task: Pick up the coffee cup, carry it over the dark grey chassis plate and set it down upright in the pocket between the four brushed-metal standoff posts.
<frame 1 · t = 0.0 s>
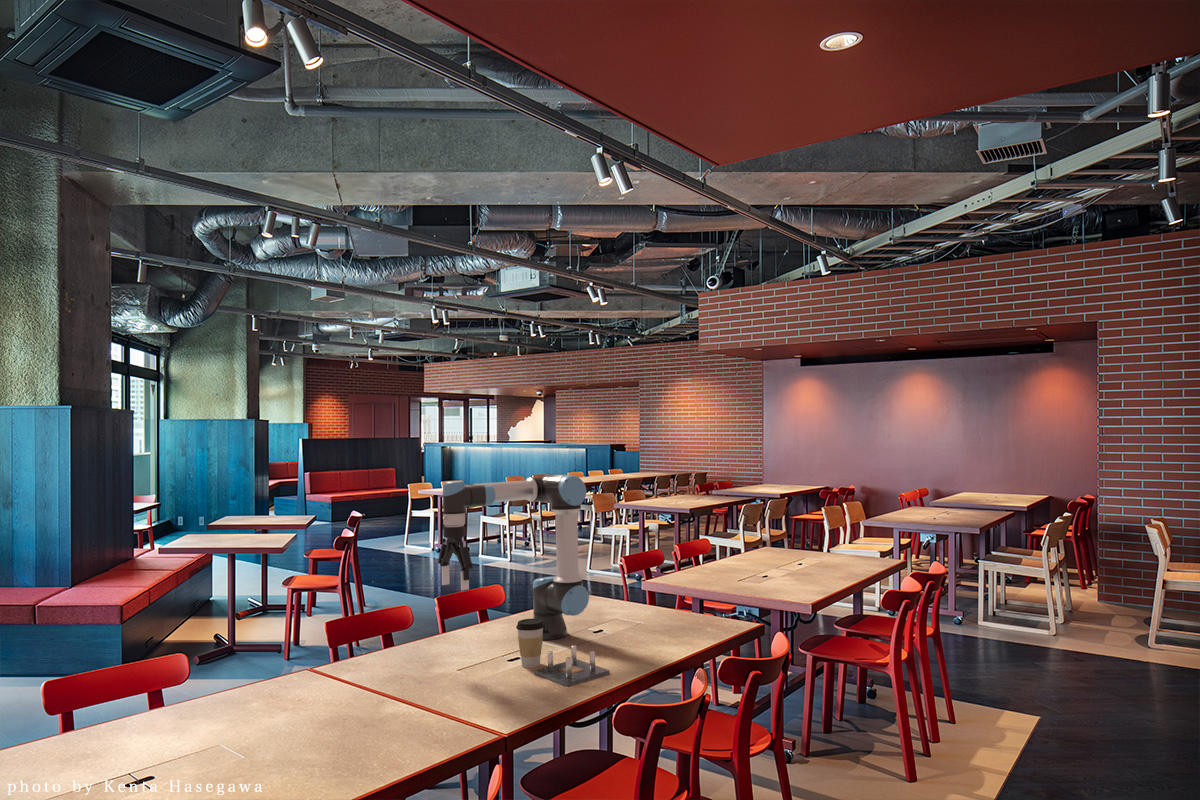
hand: (455, 587, 253), 28 cm above the table, fingers open, 13 cm apart
coffee cup: (531, 665, 254), on the table
chassis: (571, 673, 243), on the table
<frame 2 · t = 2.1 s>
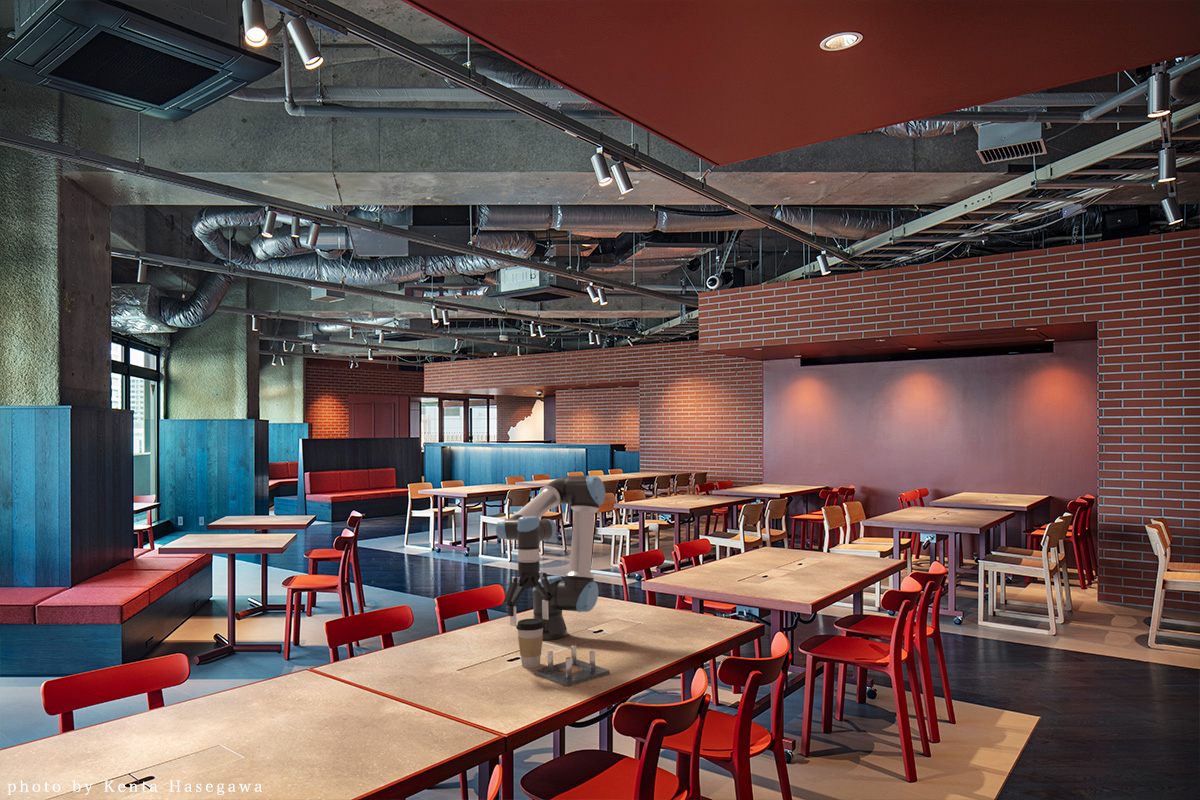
hand: (529, 622, 254), 15 cm above the table, fingers open, 13 cm apart
nothing on the table moved.
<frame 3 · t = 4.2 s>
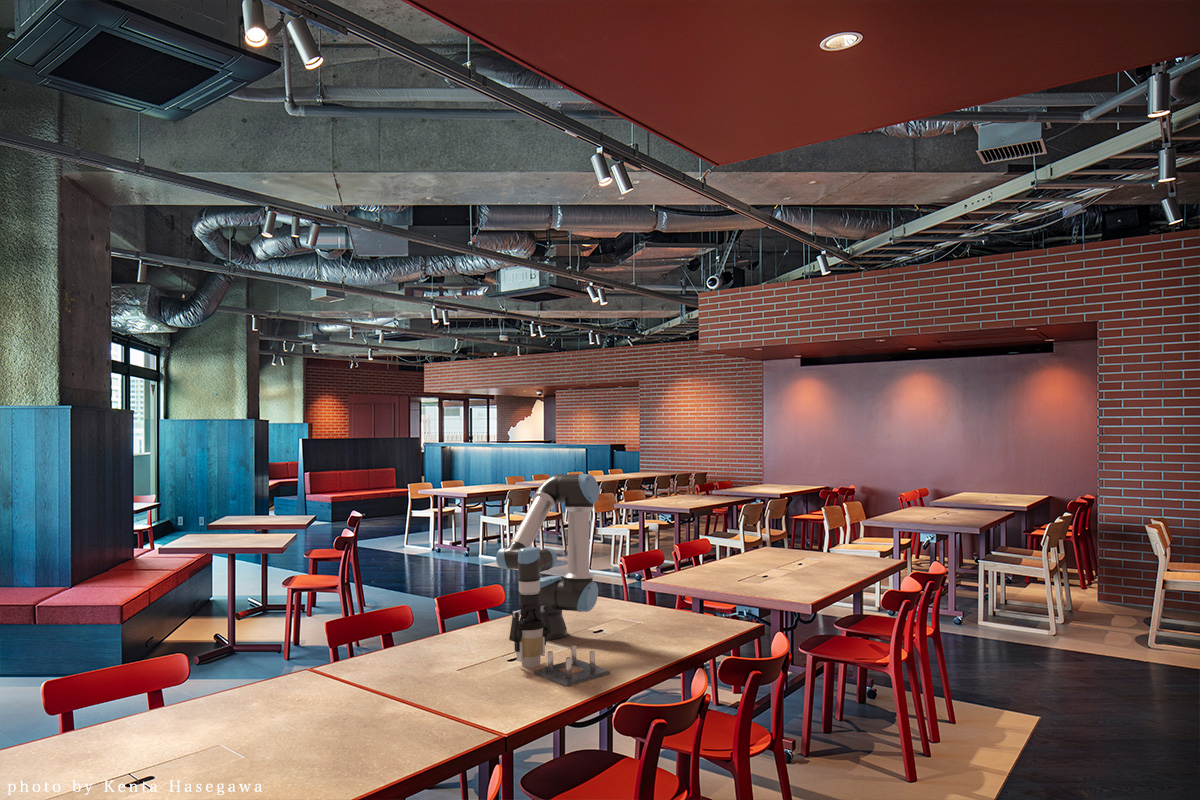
hand: (530, 657, 254), 2 cm above the table, fingers closed on coffee cup, 9 cm apart
coffee cup: (531, 665, 254), on the table, touching gripper
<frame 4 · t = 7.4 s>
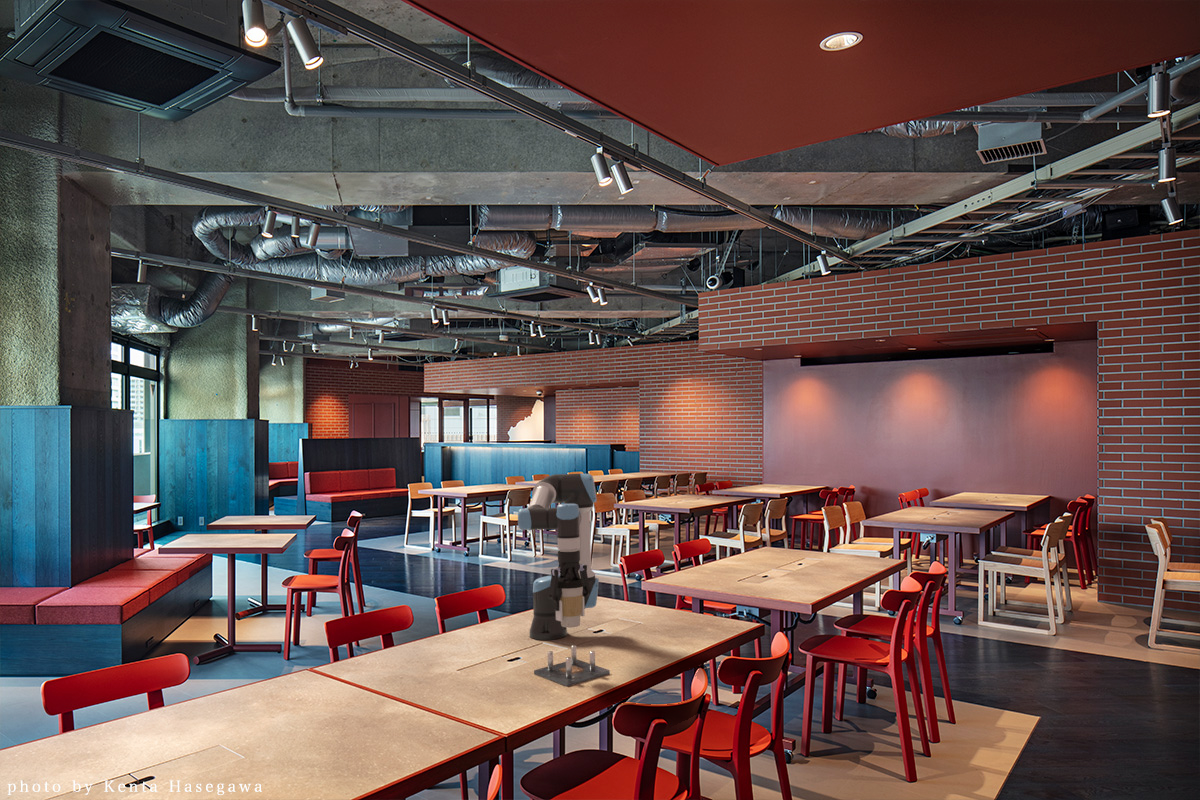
hand: (570, 617, 244), 18 cm above the table, fingers closed on coffee cup, 9 cm apart
coffee cup: (570, 625, 243), point 16 cm above the table, touching gripper
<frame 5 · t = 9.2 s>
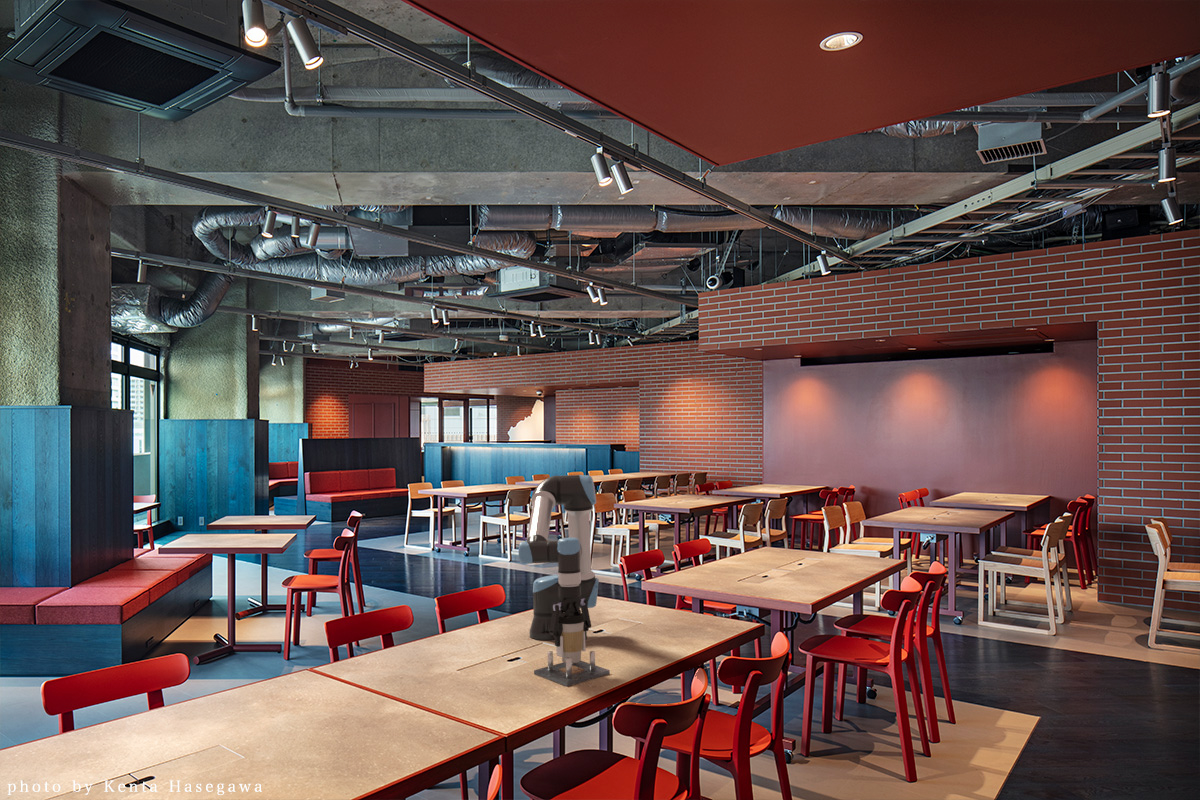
hand: (571, 653, 243), 7 cm above the table, fingers closed on coffee cup, 9 cm apart
coffee cup: (571, 661, 243), point 4 cm above the table, touching gripper
when the fingers open (5 cm above the table, at t = 10.6 s): coffee cup stays where it is, resting on chassis.
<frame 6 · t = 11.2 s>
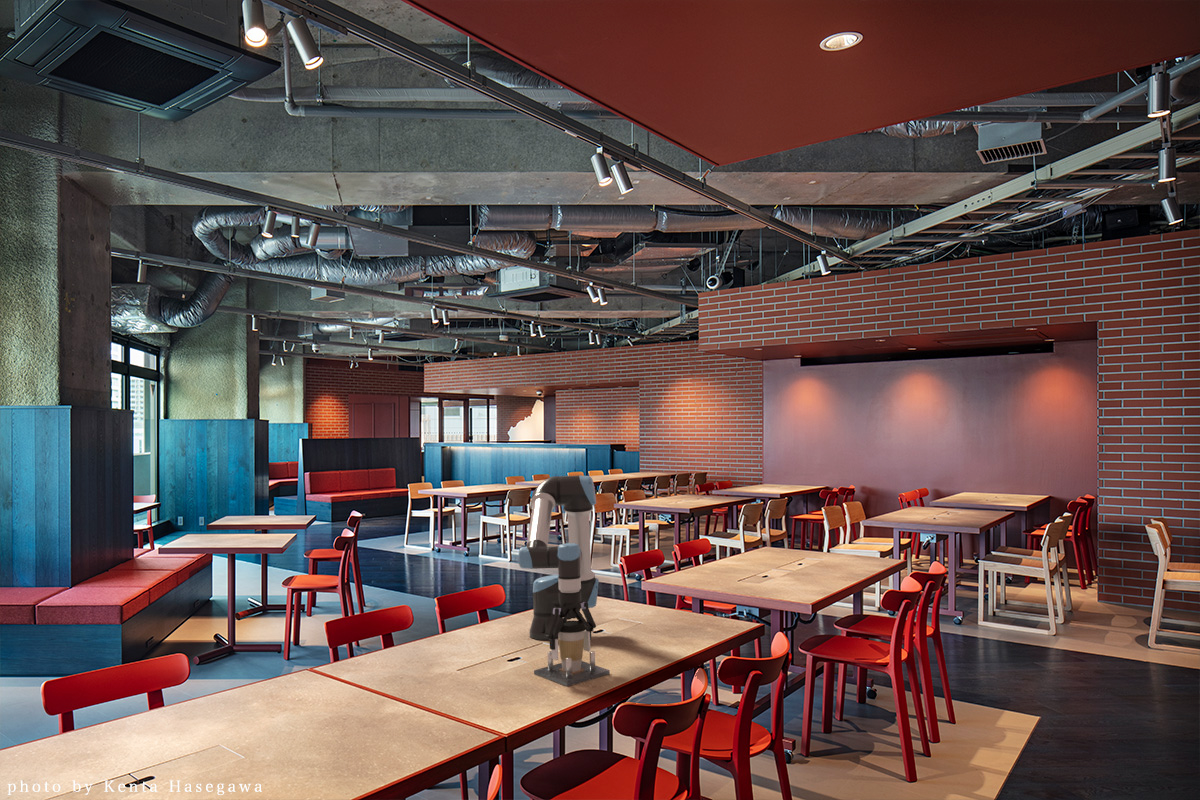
hand: (571, 654, 243), 6 cm above the table, fingers open, 13 cm apart
coffee cup: (571, 669, 243), point 1 cm above the table, touching chassis
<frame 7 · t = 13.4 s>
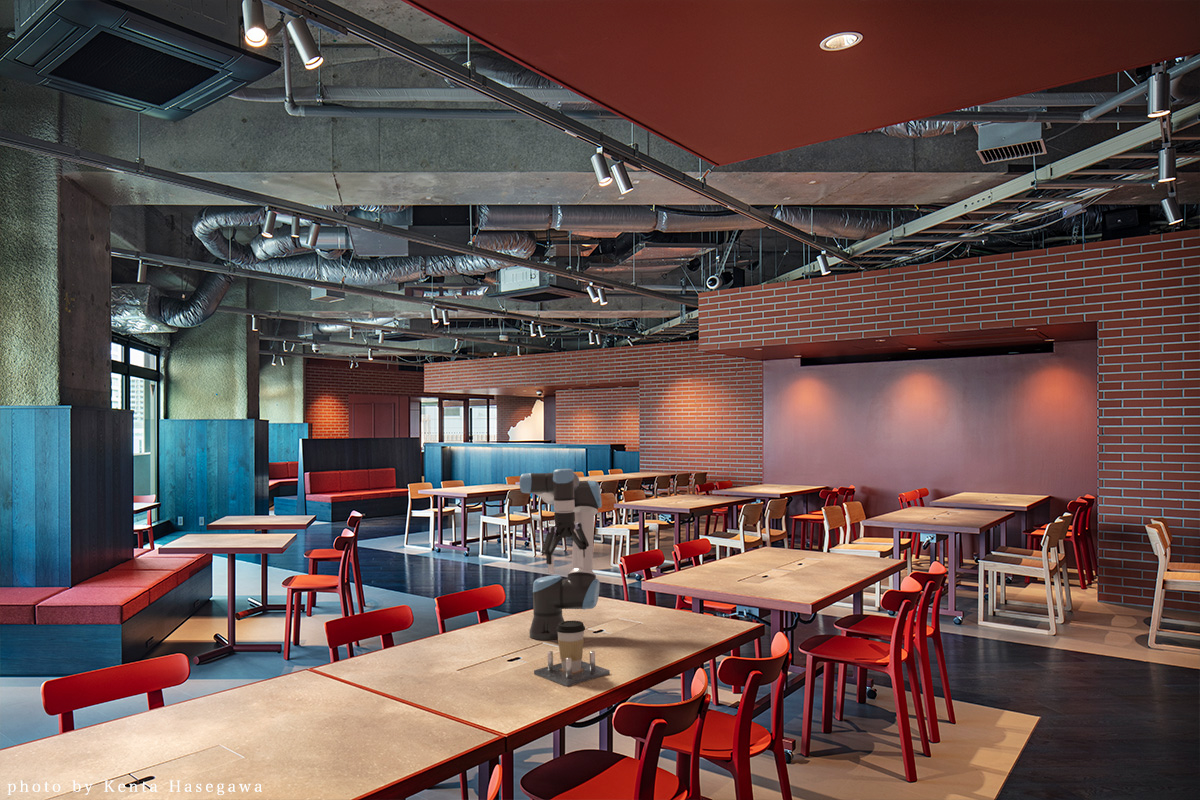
hand: (566, 570, 264), 31 cm above the table, fingers open, 13 cm apart
nothing on the table moved.
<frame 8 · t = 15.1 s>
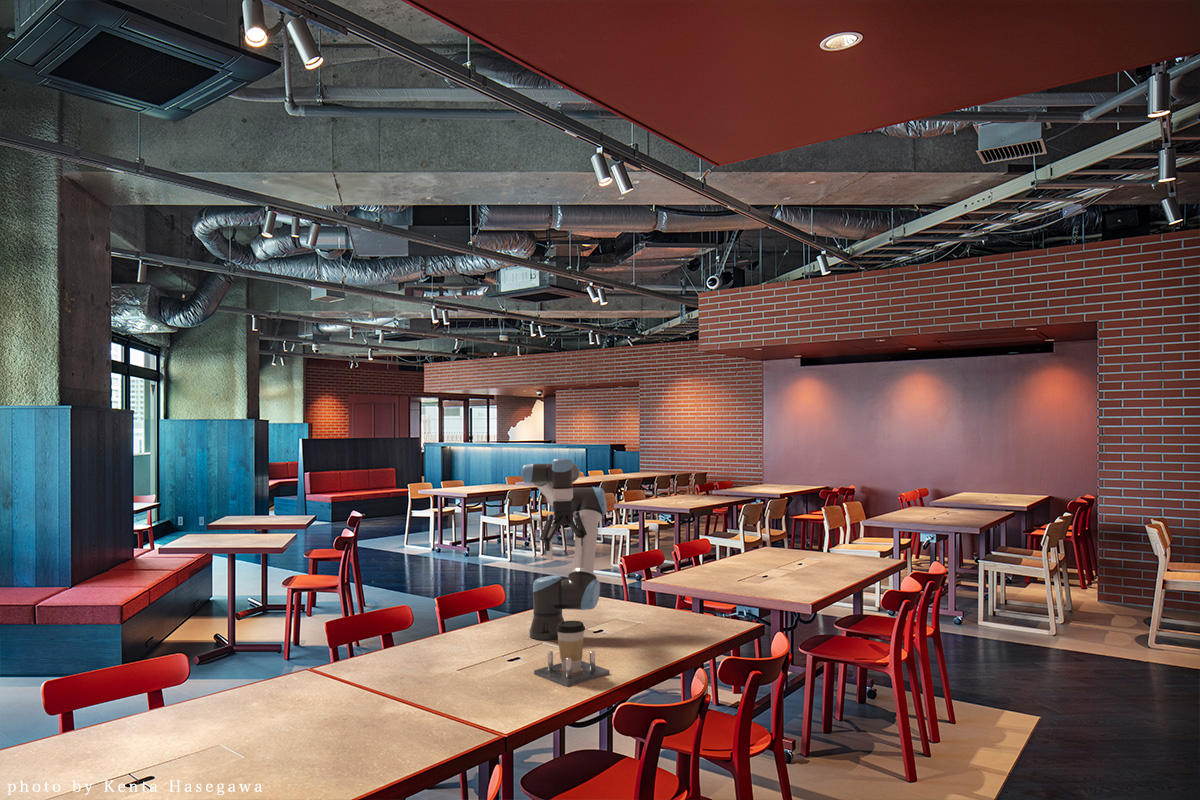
hand: (564, 557, 270), 35 cm above the table, fingers open, 13 cm apart
nothing on the table moved.
at the end: coffee cup 0.1 cm off-centre on the chassis, point 1.3 cm above the chassis's base; coffee cup tilted 0°; coffee cup touching chassis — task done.
